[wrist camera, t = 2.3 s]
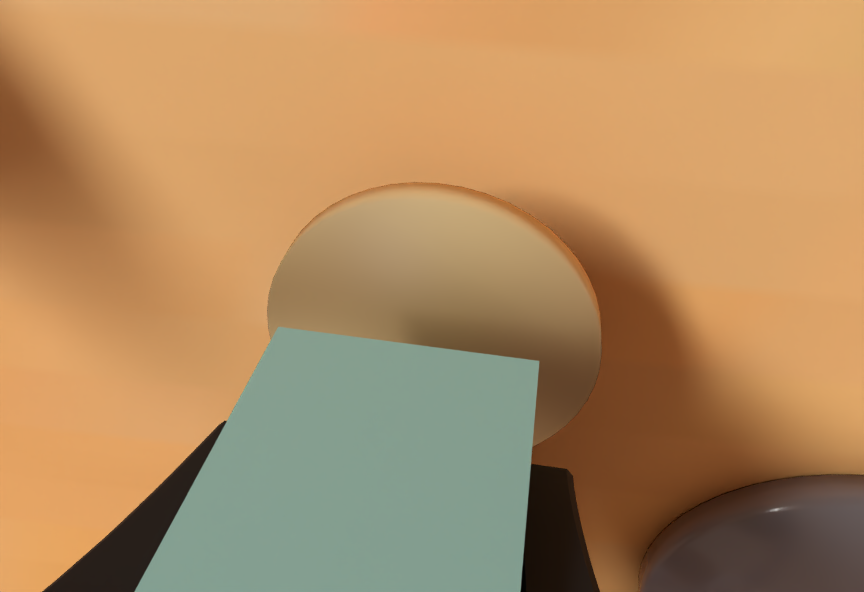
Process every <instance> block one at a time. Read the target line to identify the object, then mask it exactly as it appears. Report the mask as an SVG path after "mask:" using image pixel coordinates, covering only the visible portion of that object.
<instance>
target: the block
mask: <svg viewBox="0 0 864 592" xmlns="http://www.w3.org/2000/svg"><path fill="white" fill-rule="evenodd" d="M538 372H539V361H536V360H528V359H521V358H513V357H505V356H498V355H490V354H482V353H475V352H467V351H460V350H452V349H444V348H437V347H429V346H421V345H414V344H406V343H399V342H391V341H383V340H376V339H368V338H361V337H353V336H345V335H338V334H330V333H322V332H315V331H307V330H300V329H292V328H284V327H278V328H277V330H276V332H275V334H274V335H273V337H272V339H271V341H270V343H269V345H268V346H267V348H266V350H265V352H264V354H263V356H262V358H261V359H260V361H259V363H258V365H257V367H256V369H255V370H254V372H253V374H252V376H251V378H250V380H249V382H248V383H247V385H246V387H245V389H244V391H243V393H242V394H241V396H240V398H239V400H238V402H237V404H236V405H235V407H234V409H233V411H232V413H231V415H230V417H229V418H228V420H227V422H226V424H225V426H224V428H223V429H222V431H221V433H220V435H219V437H218V439H217V441H216V442H215V444H214V446H213V448H212V450H211V452H210V453H209V455H208V457H207V459H206V461H205V463H204V465H203V466H202V468H201V470H200V472H199V474H198V476H197V477H196V479H195V481H194V483H193V485H192V487H191V488H190V490H189V492H188V494H187V496H186V498H185V500H184V501H183V503H182V505H181V507H180V509H179V511H178V512H177V514H176V516H175V518H174V520H173V522H172V524H171V525H170V527H169V529H168V531H167V533H166V535H165V536H164V538H163V540H162V542H161V544H160V546H159V547H158V549H157V551H156V553H155V555H154V557H153V559H152V560H151V562H150V564H149V566H148V568H147V570H146V571H145V573H144V575H143V577H142V579H141V581H140V583H139V584H138V586H137V588H136V590H135V592H520V591H521V579H522V566H523V554H524V542H525V530H526V518H527V506H528V493H529V481H530V469H531V457H532V445H533V433H534V420H535V408H536V396H537V384H538Z"/></svg>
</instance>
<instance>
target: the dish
mask: <svg viewBox="0 0 864 592" xmlns="http://www.w3.org/2000/svg"><path fill="white" fill-rule="evenodd" d="M639 592H864V475H815V476H801V477H794V478H787V479H780V480H773V481H769V482H765V483H761V484H756V485H752V486H748V487H745V488H741V489H738V490H735V491H732V492H729V493H726V494H723V495H721V496H719V497H716V498H714V499H712V500H709V501H707V502H705V503H703V504H701V505H699V506H697V507H696V508H694V509H692V510H690V511H689V512H687V513H685V514H683V515H682V516H681V517H679V518H678V519H677V520H675V521H674V522H673V523H671V524H670V525H669V526H668V527H667V528H666V529H665V530H664V531H663V532H662V533H661V534H660V535H659V536H658V537H657V538H656V539H655V540H654V542H653V543H652V544H651V546H650V547H649V549H648V550H647V552H646V554H645V556H644V559H643V561H642V563H641V567H640V572H639Z"/></svg>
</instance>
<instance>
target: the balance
mask: <svg viewBox="0 0 864 592" xmlns="http://www.w3.org/2000/svg"><path fill="white" fill-rule="evenodd" d="M267 316H268V329H269V333H270V338H271V339H272V337H273V335H274V334H275V332H276V330H277V328H278V327H284V328H292V329H300V330H307V331H315V332H322V333H330V334H338V335H345V336H353V337H361V338H368V339H376V340H383V341H391V342H399V343H406V344H414V345H421V346H429V347H437V348H444V349H452V350H460V351H467V352H475V353H482V354H490V355H498V356H505V357H513V358H521V359H528V360H536V361H539V372H538V384H537V396H536V408H535V420H534V433H533V445H532V447H533V446H535V445H537V444H539V443H541V442H542V441H544V440H546V439H548V438H549V437H551V436H553V435H554V434H555V433H557V432H558V431H559V430H561V429H562V428H563V427H565V426H566V425H567V424H568V423H569V422H570V421H571V420H572V419H573V418H574V417H575V416H576V415H577V414H578V412H579V411H580V409H581V408H582V407H583V405H584V404H585V403H586V401H587V400H588V398H589V396H590V394H591V392H592V390H593V388H594V386H595V383H596V379H597V376H598V373H599V370H600V362H601V354H602V345H601V319H600V311H599V306H598V302H597V297H596V294H595V292H594V289H593V287H592V284H591V282H590V279H589V277H588V275H587V274H586V272H585V270H584V269H583V267H582V265H581V264H580V262H579V260H578V259H577V258H576V257H575V255H574V254H573V253H572V252H571V250H570V249H569V248H568V247H567V245H566V244H565V243H564V242H563V241H562V240H561V239H560V238H559V237H557V236H556V235H555V234H554V233H553V232H552V231H551V230H550V229H549V228H548V227H546V226H545V225H544V224H542V223H541V222H539V221H538V220H537V219H535V218H534V217H533V216H531V215H530V214H528V213H526V212H524V211H523V210H521V209H519V208H517V207H515V206H514V205H512V204H510V203H508V202H505V201H503V200H501V199H498V198H496V197H493V196H491V195H488V194H486V193H482V192H478V191H475V190H471V189H468V188H464V187H459V186H452V185H446V184H440V183H418V182H413V183H401V184H390V185H386V186H381V187H376V188H371V189H368V190H365V191H362V192H359V193H356V194H353V195H351V196H348V197H346V198H344V199H342V200H340V201H338V202H337V203H335V204H333V205H331V206H329V207H328V208H327V209H325V210H324V211H322V212H321V213H320V214H318V215H317V216H316V217H314V218H313V219H312V220H311V221H310V222H309V223H308V224H307V225H306V226H305V227H304V228H303V229H302V230H301V232H300V233H299V235H298V236H297V237H296V239H295V240H294V242H293V243H292V244H291V246H290V248H289V249H288V251H287V253H286V255H285V256H284V258H283V260H282V261H281V263H280V265H279V267H278V269H277V271H276V274H275V276H274V278H273V281H272V285H271V288H270V292H269V298H268V307H267Z"/></svg>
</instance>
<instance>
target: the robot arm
mask: <svg viewBox="0 0 864 592" xmlns="http://www.w3.org/2000/svg"><path fill="white" fill-rule="evenodd" d="M226 422H227V421H224V422H222V423H221V424H220V425H218V426H217V428H216V429H215V430H214V431H213V432H212V433H211V434H210V435H209V436H208V437H207V438H206V439H205V440H204V441H203V442H202V443H201V444H200V445H199V446H198V447H197V448H196V449H195V450H194V451H193V452H192V453H191V454H190V455H189V456H188V457H187V458H186V459H185V460H184V461H183V463H182V464H181V465H180V466H179V467H178V468H177V469H176V470H175V471H174V472H173V473H172V474H171V475H170V476H169V477H168V478H167V479H166V480H165V481H164V482H163V483H162V484H161V485H160V486H159V487H158V488H157V489H156V490H155V491H154V492H152V493H151V494H150V495H149V496H148V497H147V498H146V499H145V500H144V501H143V502H142V503H141V504H140V505H139V506H138V507H137V508H136V509H135V510H134V511H133V512H132V513H130V514H129V515H128V516H127V517H126V518H125V519H124V520H123V521H122V522H121V523H120V524H119V525H118V526H117V527H116V528H115V529H114V530H113V531H111V532H110V533H109V534H108V535H107V536H106V537H105V538H104V539H103V540H102V541H100V542H99V543H98V544H97V545H96V546H95V547H94V548H92V549H91V550H90V551H89V552H88V553H87V554H86V555H84V556H83V557H82V558H81V559H80V560H79V561H78V562H76V563H75V564H74V565H73V566H72V567H71V568H70V569H68V570H67V571H66V572H65V573H64V574H63V575H62V576H60V577H59V578H58V579H57V580H56V581H55V582H53V583H52V584H51V585H50V586H48V587H47V588H46V589H45V590H44V591H42V592H135V590H136V588H137V586H138V584H139V583H140V581H141V579H142V577H143V575H144V573H145V571H146V570H147V568H148V566H149V564H150V562H151V560H152V559H153V557H154V555H155V553H156V551H157V549H158V547H159V546H160V544H161V542H162V540H163V538H164V536H165V535H166V533H167V531H168V529H169V527H170V525H171V524H172V522H173V520H174V518H175V516H176V514H177V512H178V511H179V509H180V507H181V505H182V503H183V501H184V500H185V498H186V496H187V494H188V492H189V490H190V488H191V487H192V485H193V483H194V481H195V479H196V477H197V476H198V474H199V472H200V470H201V468H202V466H203V465H204V463H205V461H206V459H207V457H208V455H209V453H210V452H211V450H212V448H213V446H214V444H215V442H216V441H217V439H218V437H219V435H220V433H221V431H222V429H223V428H224V426H225V424H226ZM520 592H600V591H599V588H598V584H597V581H596V578H595V575H594V572H593V568H592V565H591V561H590V558H589V554H588V550H587V546H586V543H585V539H584V535H583V531H582V527H581V522H580V518H579V513H578V508H577V503H576V497H575V491H574V483H573V475H572V474H571V473H570V472H569V471H568V470H567V469H562V468H555V467H548V466H541V465H534V464H531V469H530V481H529V493H528V506H527V518H526V530H525V542H524V554H523V566H522V579H521V591H520Z"/></svg>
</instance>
